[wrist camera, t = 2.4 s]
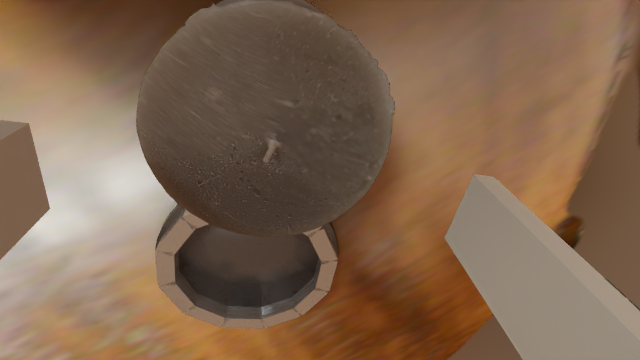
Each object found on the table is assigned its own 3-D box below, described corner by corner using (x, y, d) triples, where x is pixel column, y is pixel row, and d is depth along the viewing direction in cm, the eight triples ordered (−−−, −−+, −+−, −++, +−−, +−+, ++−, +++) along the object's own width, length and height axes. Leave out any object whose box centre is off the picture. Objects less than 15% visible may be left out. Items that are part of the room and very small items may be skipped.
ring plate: (153, 170, 28) (143, 186, 26) (353, 189, 31) (359, 205, 29) (162, 309, 36) (155, 330, 34) (319, 312, 40) (322, 332, 37)
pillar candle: (254, 147, 28) (243, 293, 15) (168, 37, 23) (44, 118, 10) (359, 83, 26) (445, 187, 14) (290, -50, 21) (323, -81, 9)
